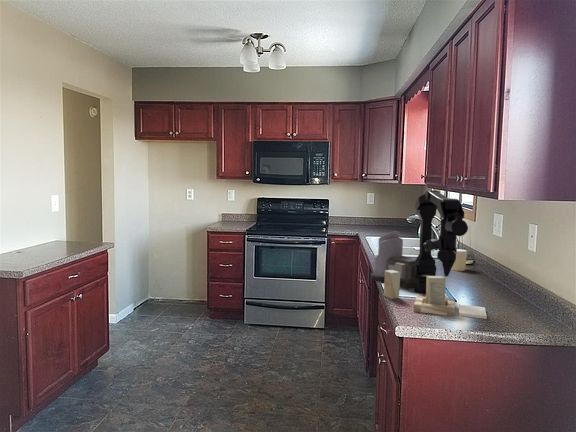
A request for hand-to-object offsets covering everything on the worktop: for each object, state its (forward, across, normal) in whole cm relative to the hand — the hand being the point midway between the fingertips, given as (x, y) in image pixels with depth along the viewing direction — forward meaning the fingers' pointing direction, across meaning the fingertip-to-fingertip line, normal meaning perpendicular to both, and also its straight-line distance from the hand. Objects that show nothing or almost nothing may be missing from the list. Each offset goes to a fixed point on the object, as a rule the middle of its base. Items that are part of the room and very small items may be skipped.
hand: (446, 275), depth 165 cm
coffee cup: (+13, -80, +3) cm, 81 cm away
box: (+13, -10, -21) cm, 27 cm away
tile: (+13, 0, +9) cm, 16 cm away
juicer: (+13, -39, -24) cm, 47 cm away
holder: (+13, 0, -4) cm, 14 cm away
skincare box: (+13, 0, -4) cm, 14 cm away
